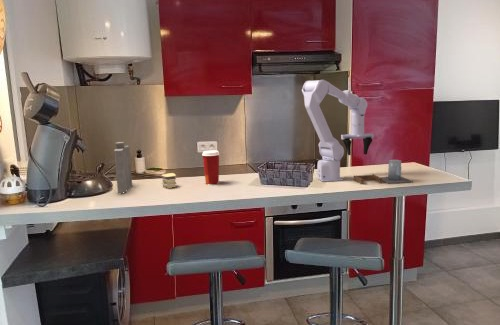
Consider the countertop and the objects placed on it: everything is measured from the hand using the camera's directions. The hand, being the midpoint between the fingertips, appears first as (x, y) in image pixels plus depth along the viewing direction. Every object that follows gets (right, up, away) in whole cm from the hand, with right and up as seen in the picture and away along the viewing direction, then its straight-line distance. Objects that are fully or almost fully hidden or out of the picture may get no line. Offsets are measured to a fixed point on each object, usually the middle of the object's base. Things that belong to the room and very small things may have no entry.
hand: (357, 154), depth 184 cm
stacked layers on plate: (-83, -15, -11) cm, 85 cm away
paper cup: (-65, -13, -6) cm, 67 cm away
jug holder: (+1, -12, -13) cm, 18 cm away
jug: (+13, -11, -13) cm, 21 cm away
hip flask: (-102, -15, -13) cm, 103 cm away
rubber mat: (+13, -11, -12) cm, 21 cm away
